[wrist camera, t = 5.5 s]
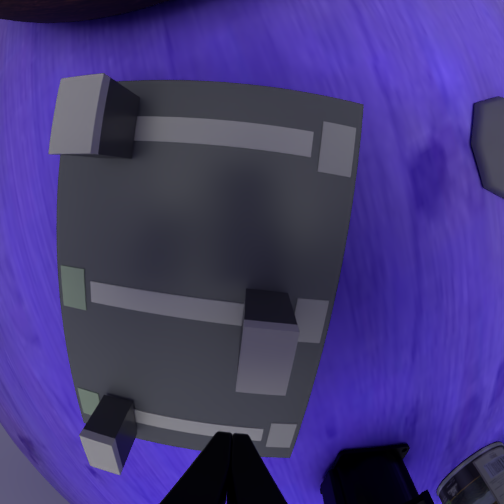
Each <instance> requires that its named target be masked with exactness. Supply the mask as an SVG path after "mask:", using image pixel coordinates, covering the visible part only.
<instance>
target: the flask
mask: <svg viewBox="0 0 504 504" xmlns="http://www.w3.org/2000/svg"><path fill="white" fill-rule="evenodd" d="M471 145H472V149H473V152H474V155H475V158H476V162H477V165H478V169H479V172H480V176H481V180H482V184H483V188H485V189H487V190H489V191H491V192H493V193H495V194H496V195H498V196H500V197H502V198H504V98H503V97H499V96H498V97H494V98H491V99H487V100H484V101H480V102H477V103H475V105H474V119H473V130H472V139H471Z"/></svg>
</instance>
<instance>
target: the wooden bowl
mask: <svg viewBox="0 0 504 504" xmlns="http://www.w3.org/2000/svg"><path fill="white" fill-rule="evenodd" d="M165 1H169V0H0V19H5V20H13V21H21V22H35V23H59V22H74V21H84V20H90V19H97V18H103V17H108V16H113V15H119V14H123V13H127V12H131V11H135V10H139V9H142V8H146V7H149V6H153V5H156V4H159V3H162V2H165Z"/></svg>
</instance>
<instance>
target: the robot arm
mask: <svg viewBox="0 0 504 504" xmlns="http://www.w3.org/2000/svg"><path fill="white" fill-rule="evenodd" d="M409 449H410V447H409V445H408V444H398V445H391V446H383V447H375V448H364V449H352V450H343V451H341V452H340V453H339V454H338V456H337V458H336V460H335V462H334V464H333V466H332V468H331V469H330V470H329V471H328V473H327V475H326V477H325V479H324V480H323V482H322V484H321V488H320V493H321V494H322V495H323V500H324V504H434V502H433V500H432V498H431V496H430V494H429V492H428V490H425V491H424V492H422V493H421V494H420V495H419V494H418V492H417V490H416V488H415V486H414V483H413V481H412V479H411V477H410V475H409V472H408V470H407V468H406V466H405V464H404V462H403V458H404V457H405V455H406V454H407V452H408V451H409ZM226 496H227V504H287V502H286V500H285V499H284V497H283V495H282V494H281V492H280V490H279V488H278V487H277V485H276V483H275V482H274V480H273V478H272V476H271V475H270V473H269V471H268V469H267V467H266V466H265V464H264V462H263V460H262V458H261V457H260V455H259V453H258V451H257V449H256V447H255V446H254V444H253V442H252V440H251V438H250V436H249V435H248V434H243V433H234V434H233V436H232V433H230V432H222V431H218V432H216V433H215V434H214V436H213V437H212V438H211V440H210V441H209V442H208V444H207V445H206V446H205V448H204V449H203V450H202V452H201V453H200V454H199V455H198V457H197V458H196V459H195V461H194V462H193V463H192V464H191V466H190V467H189V468H188V469H187V471H186V472H185V473H184V474H183V476H182V477H181V478H180V479H179V481H178V482H177V483H176V484H175V486H174V487H173V488H172V489H171V490H170V492H169V493H168V494H167V495H166V496H165V498H164V499H163V500H162V501H161V502H160V503H159V504H225V503H226Z"/></svg>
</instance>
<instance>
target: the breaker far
mask: <svg viewBox="0 0 504 504" xmlns="http://www.w3.org/2000/svg"><path fill="white" fill-rule="evenodd" d="M136 435H137V427H136V421H135V414H134V407H133V402H131V401H127V400H123V399H119V398H115V397H111V396H107V395H104V396H103V397H102V399H101V400H100V402H99V404H98V405H97V407H96V409H95V410H94V412H93V413H92V415H91V417H90V418H89V420H88V422H87V423H86V425H85V427H84V428H83V430H82V432H81V433H80V435H79V436H80V439H81V442H82V445H83V447H84V450H85V453H86V456H87V458H88V461H89V463H90V466H93V467H96V468H99V469H102V470H105V471H108V472H111V473H115V474H118V475H121V472H122V470H123V467H124V465H125V462H126V460H127V457H128V455H129V452H130V450H131V447H132V445H133V442H134V440H135V437H136Z"/></svg>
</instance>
